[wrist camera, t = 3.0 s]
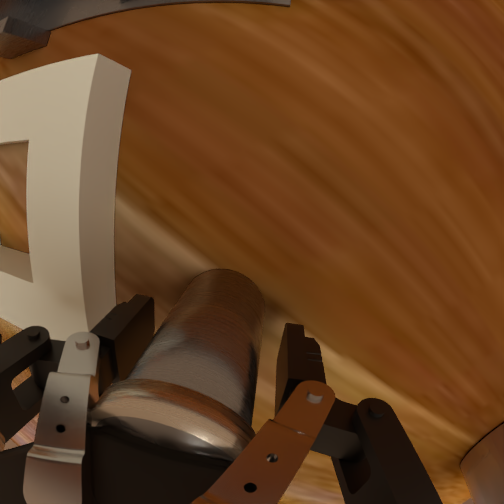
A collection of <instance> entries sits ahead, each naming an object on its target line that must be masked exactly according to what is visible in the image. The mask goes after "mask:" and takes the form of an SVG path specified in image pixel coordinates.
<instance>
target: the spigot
mask: <svg viewBox="0 0 504 504" xmlns="http://www.w3.org/2000/svg"><path fill="white" fill-rule="evenodd" d="M264 313H265V304H264V299H263V296H262V294H261V292H260V290H259V289H258V287H257V286H256V285H255V284H254V283H253V282H252V281H251V280H250V279H249V278H247V277H246V276H244V275H243V274H241V273H238V272H236V271H232V270H228V269H214V270H209V271H206V272H204V273H202V274H200V275H198V276H197V277H196V278H195V279H194V280H193V281H192V282H191V283H190V284H189V286H188V287H187V289H186V290H185V292H184V293H183V294H182V296H181V297H180V299H179V300H178V302H177V303H176V305H175V306H174V307H173V309H172V310H171V312H170V313H169V315H168V316H167V318H166V319H165V321H164V322H163V323H162V325H161V326H160V328H159V329H158V331H157V332H156V334H155V335H154V337H153V338H152V340H151V341H150V343H149V344H148V346H147V347H146V349H145V350H144V352H143V353H142V355H141V356H140V358H139V359H138V361H137V362H136V364H135V365H134V367H133V368H132V370H131V371H130V373H129V374H128V376H127V377H126V379H125V380H122V381H118V382H116V383H113V384H112V385H110V386H109V387H107V389H106V390H105V391H104V392H103V394H102V395H101V396H100V398H99V399H98V401H97V402H96V404H95V405H94V407H93V409H92V410H91V412H90V413H91V416H92V426H96V427H102V426H105V427H107V428H110V429H112V430H115V431H117V432H120V433H123V434H125V435H128V436H131V437H134V438H137V439H140V440H143V441H146V442H149V443H152V444H156V445H159V446H162V447H166V448H170V449H173V450H177V451H181V452H185V453H189V454H193V455H198V456H202V457H207V458H212V459H217V460H222V461H228V462H229V464H232V463H233V462H234V461H235V459H236V458H237V457H238V456H239V455H240V454H241V452H242V451H243V450H244V449H245V448H246V446H247V445H248V444H249V443H250V442H251V440H252V439H253V438H254V437H255V435H256V433H255V432H254V430H253V429H252V428H251V425H252V417H253V409H254V401H255V393H256V384H257V376H258V367H259V359H260V350H261V341H262V332H263V323H264Z"/></svg>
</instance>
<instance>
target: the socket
mask: <svg viewBox="0 0 504 504" xmlns="http://www.w3.org/2000/svg"><path fill="white" fill-rule="evenodd" d="M130 75H131V70H130V69H128V68H126V67H124V66H122V65H120V64H118V63H116V62H114V61H113V60H111V59H108V58H106V57H104V56H102V55H100V54H93V55H88V56H83V57H78V58H73V59H69V60H65V61H61V62H57V63H53V64H49V65H46V66H42V67H39V68H35V69H32V70H29V71H26V72H23V73H20V74H17V75H14V76H11V77H8V78H6V79H3V80H1V81H0V145H1V144H10V143H20V142H29V146H28V160H27V188H26V199H27V228H28V242H29V252H30V254H28V253H25V252H21V251H18V250H14V249H11V248H8V247H4V246H1V241H0V318H2V319H4V320H6V321H8V322H10V323H12V324H13V325H15V326H17V327H19V328H21V329H23V330H24V329H26V328H28V327H31V326H42V327H44V328H46V329H47V330H48V331H49V335H50V339H53V340H61V341H66V339H67V338H68V337H69V336H70V335H72V334H74V333H77V332H90V331H91V330H92V329H93V328H94V327H95V326H96V325H97V324H98V323H99V322H100V321H101V320H102V319H103V318H104V317H105V316H106V315H107V314H108V313H109V312H110V311H111V310H112V309H113V308H114V307H115V306H116V292H115V270H114V212H115V190H116V175H117V163H118V153H119V144H120V135H121V128H122V120H123V114H124V107H125V101H126V95H127V90H128V85H129V79H130Z"/></svg>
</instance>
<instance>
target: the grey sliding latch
mask: <svg viewBox="0 0 504 504" xmlns="http://www.w3.org/2000/svg"><path fill="white" fill-rule="evenodd" d="M202 2H237V3H256V4H269V5H278V6H287V7H290V3H291V0H0V57H4V58H9V59H12V58H14V57H17V56H19V55H22V54H24V53H27V52H30V51H32V50H35V49H38V48H41V47H44V46H47V42H48V39H49V36H50V33H51V32H50V31H51V30H54V29H57V28H60V27H63V26H66V25H69V24H72V23H76V22H79V21H83V20H86V19H90V18H94V17H98V16H102V15H107V14H111V13H116V12H121V11H127V10H132V9H138V8H145V7H152V6H161V5H170V4H182V3H202Z"/></svg>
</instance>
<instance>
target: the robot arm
mask: <svg viewBox="0 0 504 504" xmlns="http://www.w3.org/2000/svg"><path fill="white" fill-rule="evenodd" d="M154 328H155V326H154V299H153V298H152V297H148V296H144V295H139V294H136V295H135V296H134V297H133V298H132V299H131V300H130V301H129V302H128V303H127V302H123V303H121V304H119V305H117V306H115V307H114V308H113V309H112V310H111V311H110V312H109V313H108V314H107V315H106V316H105V317H104V318H103V319H102V320H101V321H100V322H99V323H98V324H97V325H96V326H95V327H94V328H93V329H92V330H91V331H90V332H77V333H74V334H72V335H70V336H69V337H68V338H67V339H66V341H61V340H53V339H50V335H49V331H48V330H47V329H46V328H44V327H42V326H31V327H28V328H26V329H24V330H22V331H21V332H19V333H17V334H16V335H14V336H13V337H11V338H9V339H8V340H6V341H5V342H3V343H2V344H0V504H277V503H278V501H279V500H280V498H281V497H282V495H283V494H284V492H285V491H286V489H287V488H288V486H289V484H290V483H291V481H292V480H293V478H294V476H295V475H296V473H297V471H298V470H299V468H300V466H301V464H302V463H303V461H304V459H305V457H306V456H307V454H308V452H309V450H312V451H315V452H319V453H322V454H325V455H328V456H331V459H332V462H333V465H334V468H335V472H336V475H337V478H338V481H339V485H340V488H341V491H342V494H343V498H344V501H345V504H443V503H442V501H441V499H440V497H439V495H438V493H437V491H436V489H435V487H434V485H433V483H432V481H431V479H430V477H429V475H428V474H427V472H426V470H425V468H424V466H423V464H422V462H421V460H420V458H419V456H418V454H417V453H416V451H415V449H414V447H413V445H412V443H411V441H410V440H409V438H408V436H407V434H406V432H405V431H404V429H403V427H402V425H401V423H400V421H399V420H398V418H397V416H396V414H395V413H394V411H393V409H392V408H391V406H390V405H389V404H387V403H386V402H385V401H383V400H380V399H376V398H367V399H364V400H362V401H361V402H360V403H359V404H358V406H357V405H353V404H350V403H346V402H343V401H341V400H339V399H337V398H335V393H334V391H333V390H332V389H331V388H330V387H329V386H328V385H327V384H326V378H325V373H324V367H323V362H322V356H321V350H320V346H319V344H318V343H317V342H316V340H315V339H314V338H309V337H305V334H304V326H303V325H298V324H291V323H286V324H285V328H284V332H283V336H282V340H281V344H280V349H279V353H278V358H277V369H276V396H275V418H274V419H273V420H271V419H269V420H268V421H267V422H266V423H265V424H264V425H263V427H262V428H261V429H260V430H259V432H258V433H257V434H256V435H255V437H254V438H253V439H252V440H251V442H250V443H249V444H248V445H247V446H246V448H245V449H244V450H243V451H242V452H241V454H240V455H239V456H238V457H237V458H236V459H235V461H234V462H233V463H232V464H229V462H228V461H222V460H217V459H212V458H207V457H202V456H198V455H193V454H189V453H185V452H181V451H177V450H173V449H170V448H166V447H162V446H159V445H156V444H152V443H149V442H146V441H143V440H140V439H137V438H134V437H131V436H128V435H125V434H123V433H120V432H117V431H115V430H112V429H110V428H107V427H105V426H102V427H96V426H92V416H91V413H90V412H91V410H92V409H93V407H94V405H95V404H96V402H97V401H98V399H99V398H100V396H101V395H102V394H103V392H104V391H105V390H106V389H107V387H109V386H110V385H111V383H116V382H118V381H122V380H125V379H126V377H127V376H128V374H129V373H130V371H131V370H132V368H133V367H134V365H135V364H136V362H137V361H138V359H139V358H140V356H141V355H142V353H143V352H144V350H145V349H146V347H147V346H148V344H149V343H150V341H151V340H152V338H153V334H154ZM28 367H29V369H30V372H31V374H32V376H30V377H29V378H28V379H27V380H25V381H24V382H23V383H21V384H20V385H19V386H18V387H16V388H15V389H14V390H12V387H11V383H12V380H13V379H14V378H15V377H16V376H17V375H18V374H20V373H21V372H22V371H24V370H25V369H26V368H28ZM39 412H40V413H39ZM38 413H39V418H38V423H37V428H36V434H35V440H34V442H32V443H29V444H25V445H22V446H18V447H15V448H12V449H8V450H4V447H5V443H6V442H7V441H8V440H9V439H10V438H12V437H13V436H14V435H15V434H16V433H17V432H18V431H19V430H20V429H21V428H22V427H24V426H25V425H26V424H27V423H28V422H29V421H30V420H31V419H32V418H34V417H35V416H36V415H37V414H38ZM460 468H461V471H462V473H463V476H464V478H465V481H466V484H467V486H468V489H469V492H470V495H471V497H472V500H473V503H474V504H504V423H503V424H502V425H500V426H499V427H498V428H496V429H495V430H494V431H492V432H491V433H490V434H488V435H487V436H486V437H485V438H484V439H482V440H481V441H480V442H479V443H478V444H477V445H476V446H475V447H474V448H473V449H472V450H471V451H470V452H469V453H468V454H467V455H466V456H465V458H464V459H463V461H462V462H461V465H460Z"/></svg>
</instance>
